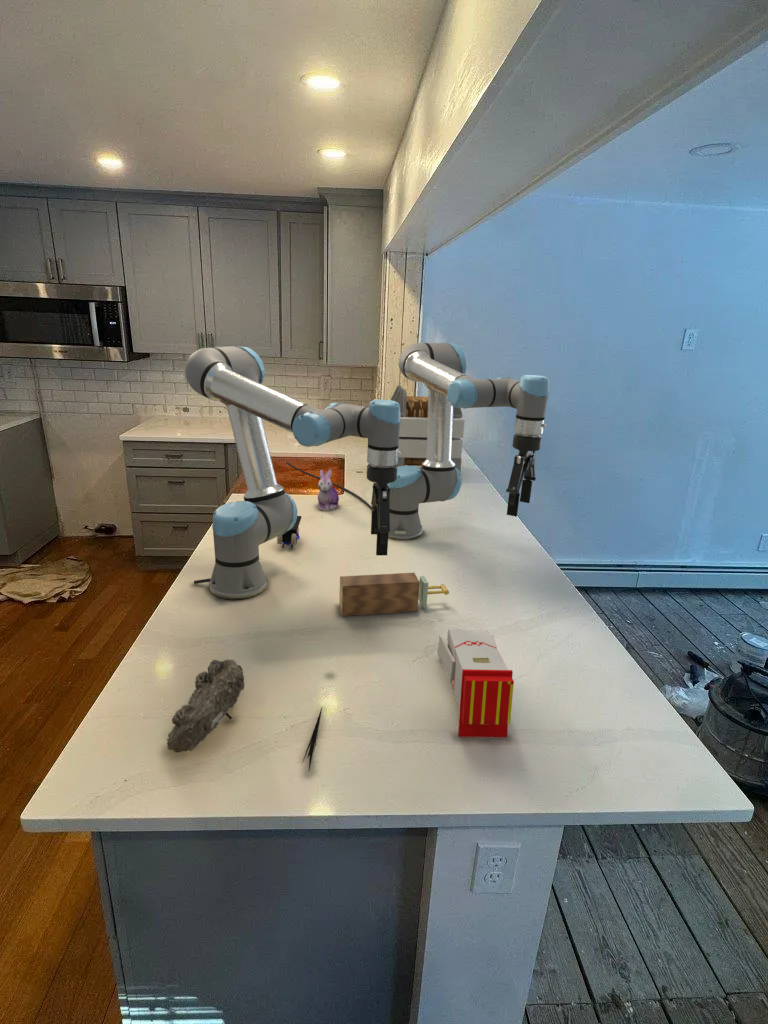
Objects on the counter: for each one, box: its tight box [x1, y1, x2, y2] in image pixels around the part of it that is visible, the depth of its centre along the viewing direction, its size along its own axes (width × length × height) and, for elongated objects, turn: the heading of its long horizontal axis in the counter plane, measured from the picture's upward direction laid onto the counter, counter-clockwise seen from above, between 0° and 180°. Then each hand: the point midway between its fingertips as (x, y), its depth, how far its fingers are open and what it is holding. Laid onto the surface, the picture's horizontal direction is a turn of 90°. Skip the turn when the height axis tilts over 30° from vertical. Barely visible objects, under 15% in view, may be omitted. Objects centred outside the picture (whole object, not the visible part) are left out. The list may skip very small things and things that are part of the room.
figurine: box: [317, 468, 340, 511], centre depth 220 cm, size 9×10×15 cm
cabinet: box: [338, 572, 420, 617], centre depth 148 cm, size 20×5×9 cm, turn 102°
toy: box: [437, 628, 515, 738], centre depth 117 cm, size 12×13×30 cm
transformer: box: [390, 384, 465, 475], centre depth 268 cm, size 34×33×41 cm
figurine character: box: [276, 515, 303, 550], centre depth 187 cm, size 7×8×15 cm
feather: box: [301, 673, 332, 771], centre depth 108 cm, size 2×28×2 cm
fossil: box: [166, 658, 245, 754], centre depth 106 cm, size 22×10×15 cm
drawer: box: [418, 575, 450, 607], centre depth 150 cm, size 25×4×7 cm, turn 102°
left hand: (378, 544), depth 146 cm, fingers open, 13 cm apart
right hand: (518, 508), depth 160 cm, fingers open, 13 cm apart
